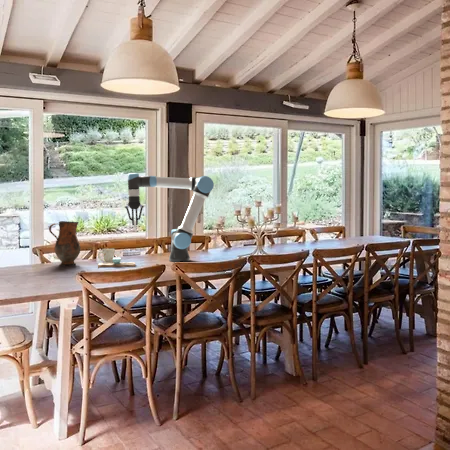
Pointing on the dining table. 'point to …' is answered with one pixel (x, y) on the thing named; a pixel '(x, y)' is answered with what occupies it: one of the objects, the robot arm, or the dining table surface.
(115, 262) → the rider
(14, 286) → the dining table surface
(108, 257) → the mug
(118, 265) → the wooden flat board
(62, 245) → the pitcher
